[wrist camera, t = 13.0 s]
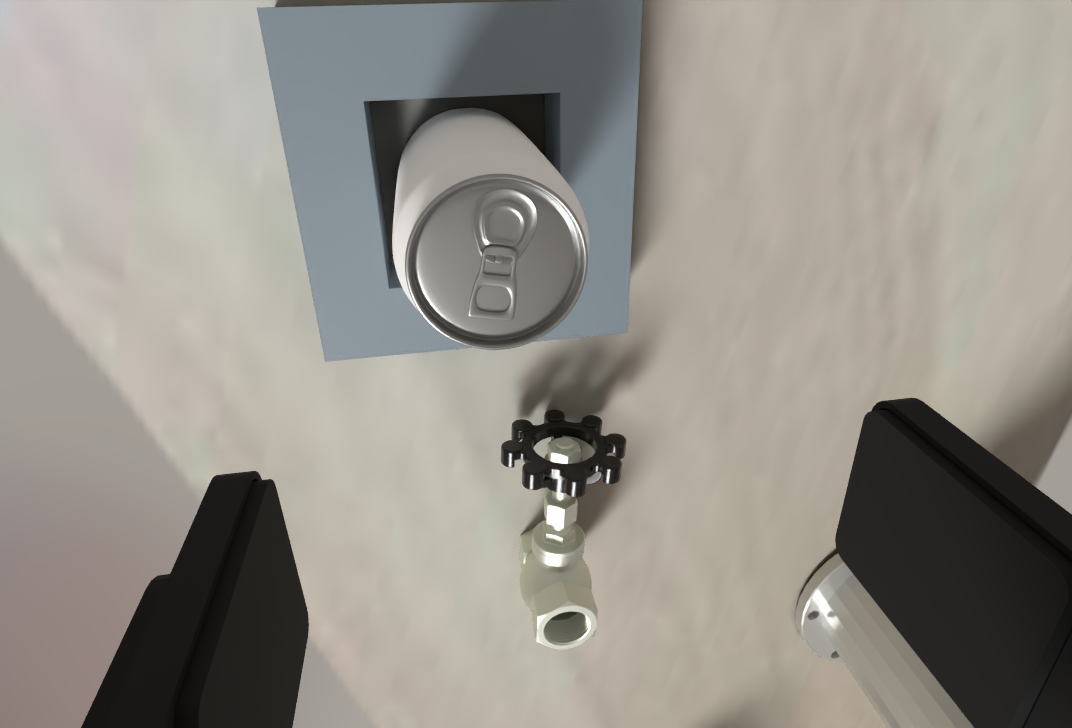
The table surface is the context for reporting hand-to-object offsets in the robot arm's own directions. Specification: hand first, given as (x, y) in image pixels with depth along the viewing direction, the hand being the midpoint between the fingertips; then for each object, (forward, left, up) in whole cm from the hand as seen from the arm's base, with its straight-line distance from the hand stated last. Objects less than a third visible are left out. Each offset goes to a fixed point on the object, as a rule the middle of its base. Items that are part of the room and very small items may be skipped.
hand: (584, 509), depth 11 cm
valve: (-3, +19, -24) cm, 31 cm away
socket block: (0, 0, -23) cm, 23 cm away
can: (0, 0, -24) cm, 24 cm away
